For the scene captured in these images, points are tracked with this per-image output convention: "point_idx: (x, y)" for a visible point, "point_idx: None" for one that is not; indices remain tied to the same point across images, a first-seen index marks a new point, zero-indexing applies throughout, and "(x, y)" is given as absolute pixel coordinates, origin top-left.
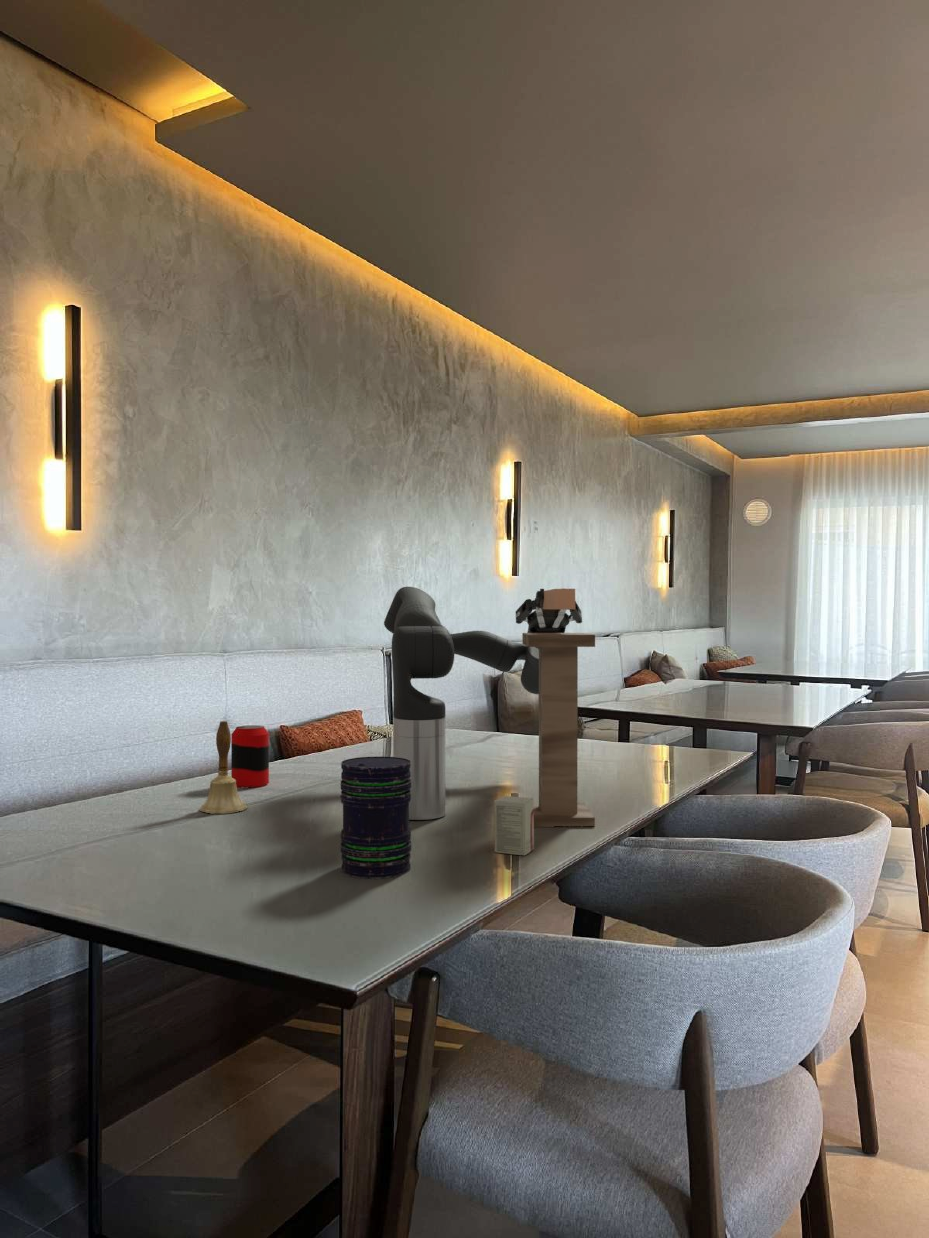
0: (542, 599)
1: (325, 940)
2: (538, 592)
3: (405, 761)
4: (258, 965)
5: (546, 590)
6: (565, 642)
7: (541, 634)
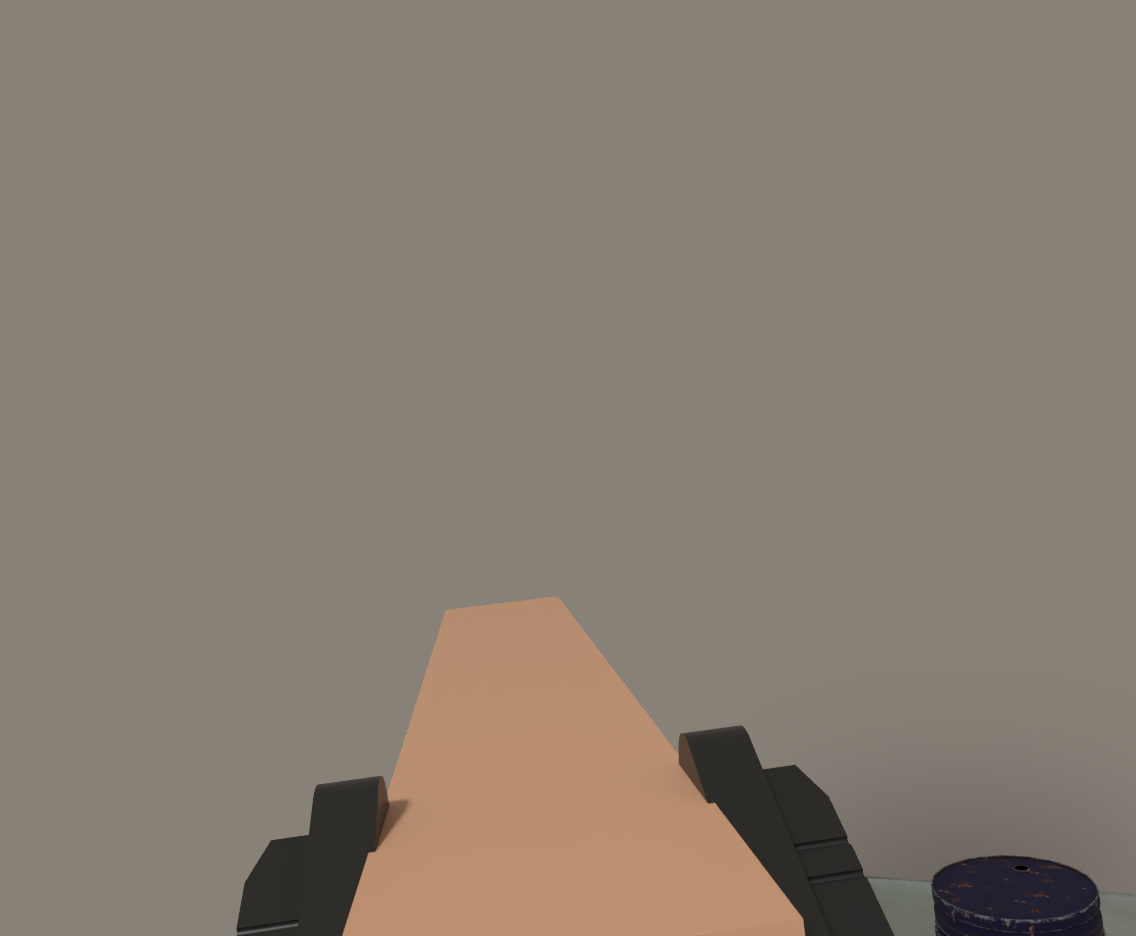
0: None
1: (899, 921)
2: (780, 787)
3: (960, 905)
4: (925, 881)
5: (621, 680)
6: None
7: None
